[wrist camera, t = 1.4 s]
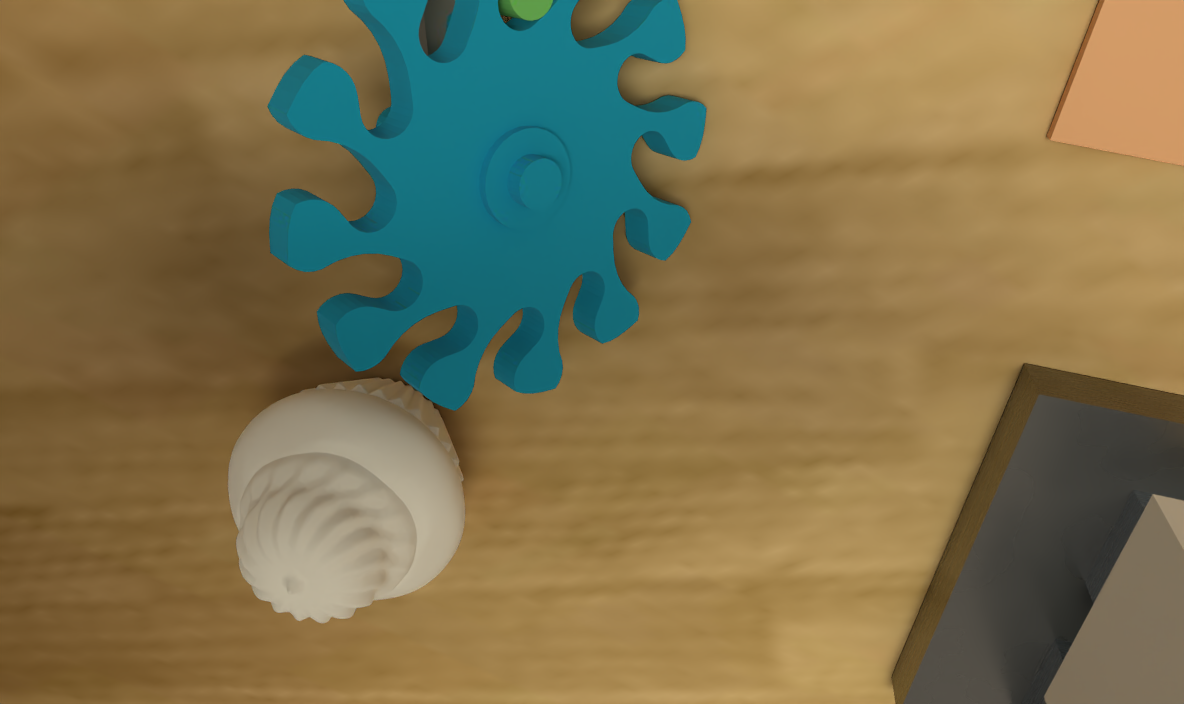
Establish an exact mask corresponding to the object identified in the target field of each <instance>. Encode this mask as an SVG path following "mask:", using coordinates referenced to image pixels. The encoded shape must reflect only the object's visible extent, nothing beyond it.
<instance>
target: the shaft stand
mask: <svg viewBox="0 0 1184 704" xmlns="http://www.w3.org/2000/svg"><path fill="white" fill-rule="evenodd" d="M1152 494H1155V495H1160V496H1164V497H1169V498H1173V499H1178V500H1183V501H1184V396H1181V395H1176V394H1171V393H1167V392H1162V391H1157V390H1152V389H1147V388H1142V387H1137V386H1132V385H1127V384H1123V383H1118V382H1113V381H1108V380H1103V379H1098V378H1093V377H1088V376H1083V375H1079V374H1074V373H1069V372H1064V371H1059V370H1054V369H1049V368H1044V367H1039V366H1035V365H1030V364H1024V366H1023V368H1022V371H1021V373H1020V375H1019V378H1018V380H1017V382H1016V385H1015V387H1014V390H1013V392H1012V394H1011V397H1010V399H1009V401H1008V404H1007V406H1006V408H1005V411H1004V413H1003V416H1002V418H1001V420H1000V423H999V425H998V427H997V430H996V432H995V434H994V437H993V439H992V441H991V444H990V446H989V449H988V451H987V453H986V456H985V458H984V460H983V463H982V465H981V467H980V470H979V472H978V474H977V477H976V479H975V482H974V484H973V486H972V489H971V491H970V493H969V496H968V498H967V500H966V503H965V505H964V507H963V510H962V512H961V515H960V517H959V519H958V522H957V524H956V526H955V529H954V531H953V533H952V536H951V538H950V541H949V543H948V545H947V548H946V550H945V552H944V555H943V557H942V559H941V562H940V564H939V566H938V569H937V571H936V574H935V576H934V578H933V581H932V583H931V585H930V588H929V590H928V592H927V595H926V597H925V599H924V602H923V604H922V607H921V609H920V611H919V614H918V616H917V618H916V621H915V623H914V625H913V628H912V630H911V632H910V635H909V637H908V640H907V642H906V644H905V647H904V649H903V651H902V654H901V656H900V658H899V661H898V663H897V665H896V668H895V670H894V673H893V675H892V683H893V689H894V696H895V703H896V704H1046V702H1045V698H1044V695H1045V694H1046V692H1047V690H1048V688H1049V686H1050V684H1051V682H1052V681H1053V679H1054V677H1055V675H1056V673H1057V671H1058V669H1059V668H1060V666H1061V664H1062V662H1063V660H1064V658H1065V656H1066V654H1067V653H1068V651H1069V649H1070V647H1071V645H1072V643H1073V641H1074V640H1075V638H1076V636H1077V634H1078V632H1079V630H1080V628H1081V627H1082V625H1083V623H1084V621H1085V619H1086V617H1087V615H1088V614H1089V612H1090V610H1091V608H1092V606H1093V604H1094V602H1095V600H1096V599H1097V597H1098V595H1099V593H1100V591H1101V589H1102V587H1103V586H1104V584H1105V582H1106V580H1107V578H1108V576H1109V574H1110V573H1111V571H1112V569H1113V567H1114V565H1115V563H1116V561H1117V560H1118V558H1119V556H1120V554H1121V552H1122V550H1123V548H1124V546H1125V545H1126V543H1127V541H1128V539H1129V537H1130V535H1131V533H1132V532H1133V530H1134V528H1135V526H1136V524H1137V522H1138V520H1139V519H1140V517H1141V515H1142V513H1143V511H1144V509H1145V507H1146V506H1147V504H1148V502H1149V500H1150V498H1151V496H1152Z"/></svg>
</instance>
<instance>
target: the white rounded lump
mask: <svg viewBox="0 0 1184 704" xmlns="http://www.w3.org/2000/svg"><path fill="white" fill-rule="evenodd" d="M462 481H463V475H462V472H461V470H460V467H459V459H458V456H457V454H456V451H455V449H454V446H453V443H452V441H451V439H450V436H449V434H448V431H447V429H446V426H445V424H444V421H443V419H442V418H441V416H440V413H439V411H438V410H437V409H435V408H434V406H433V403H432V401H429V400H426V399H425V398H424V397H423V394H422V393H420V392H419V391H415V390H414V389H413V387H412V386H411V385H407V386H405V385H404V384H403V383H402V381H398V382H394V381H393V380H392V379H390V378H388V379H381V378H378V377H377V378H370V379H360V380H353V381H344V382H336V383H328V384H320V385H318V386H317V388H312V389H306V390H301V391H300V393H297V394H293V395H290V396H288V397H285V398H283V399H281V400H279V401H277V402H275V403H273V404H272V405H270V406H269V407H267V408H266V409H264V410H263V411H262V412H260V413H259V414H258V415H257V416H256V417H255V418H254V419H253V420H252V421H251V422H250V423H249V424H248V425H247V426H246V428H245V429H244V431H243V432H242V433H241V435H240V436H239V438H238V440H237V442H236V444H235V446H234V449H233V451H232V455H231V458H230V463H229V470H228V493H229V501H230V506H231V510H232V515H233V518H234V521H235V523H236V526H237V528H238V530H239V533H238V536H237V538H236V548H237V553H238V556H239V567H240V570H241V574H242V576H243V578H244V579H245V580H246V581H247V582H248V583H249V584H250V585H252V589H253V592H254V594H255V595H256V597H257V598H259V599H260V600H264V601H269V602H271V604H272V607H273V609H274V611H276V612H277V613H283V612H290V613H291V614H292V615H293V616H294V618H295V619H296V620H298V621H301V620H303V619H306V618H308V617H311V618H312V619H314V620H315V621H317V622H319V623H326V622H328V621H329V620H330V618H331V617H334V618H338V619H346V618H350V617H352V616H353V614H354V613H355V610H356V608H361V607H366V606H369V605H371V603H372V602H373V600H381V599H389V598H394V597H399V596H402V595H406V594H408V593H411V592H414V591H416V590H418V589H420V588H421V587H423V586H425V585H426V584H427V583H429V582H430V581H431V580H433V579H434V578H435V577H436V576H437V575H438V574H439V573H440V572H441V571H442V570H443V569H444V568H445V567H446V565H447V564H448V563H449V561H450V560H451V559H452V557H453V555H454V554H455V552H456V550H457V548H458V546H459V543H460V541H461V538H462V534H463V530H464V524H465V499H464V492H463V487H462V483H461V482H462Z"/></svg>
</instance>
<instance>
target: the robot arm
mask: <svg viewBox="0 0 1184 704" xmlns="http://www.w3.org/2000/svg"><path fill="white" fill-rule="evenodd" d="M1044 698H1045V702H1046V704H1184V501H1183V500H1178V499H1173V498H1169V497H1164V496H1160V495H1155V494H1152V496H1151V498H1150V500H1149V502H1148V504H1147V506H1146V507H1145V509H1144V511H1143V513H1142V515H1141V517H1140V519H1139V520H1138V522H1137V524H1136V526H1135V528H1134V530H1133V532H1132V533H1131V535H1130V537H1129V539H1128V541H1127V543H1126V545H1125V546H1124V548H1123V550H1122V552H1121V554H1120V556H1119V558H1118V560H1117V561H1116V563H1115V565H1114V567H1113V569H1112V571H1111V573H1110V574H1109V576H1108V578H1107V580H1106V582H1105V584H1104V586H1103V587H1102V589H1101V591H1100V593H1099V595H1098V597H1097V599H1096V600H1095V602H1094V604H1093V606H1092V608H1091V610H1090V612H1089V614H1088V615H1087V617H1086V619H1085V621H1084V623H1083V625H1082V627H1081V628H1080V630H1079V632H1078V634H1077V636H1076V638H1075V640H1074V641H1073V643H1072V645H1071V647H1070V649H1069V651H1068V653H1067V654H1066V656H1065V658H1064V660H1063V662H1062V664H1061V666H1060V668H1059V669H1058V671H1057V673H1056V675H1055V677H1054V679H1053V681H1052V682H1051V684H1050V686H1049V688H1048V690H1047V692H1046V694H1045V695H1044Z"/></svg>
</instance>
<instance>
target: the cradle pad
mask: <svg viewBox="0 0 1184 704" xmlns="http://www.w3.org/2000/svg"><path fill="white" fill-rule="evenodd" d="M1047 137H1048V138H1049V139H1050V140H1052V141H1057V142H1062V143H1067V144H1073V145H1078V146H1083V147H1088V148H1093V149H1099V150H1104V151H1109V152H1114V153H1119V154H1125V155H1130V156H1135V157H1140V158H1145V159H1151V160H1156V161H1161V162H1166V163H1172V164H1177V165H1182V166H1184V0H1099V3H1098V5H1097V8H1096V10H1095V13H1094V15H1093V18H1092V21H1091V23H1090V26H1089V28H1088V31H1087V34H1086V36H1085V39H1084V41H1083V44H1082V46H1081V49H1080V52H1079V54H1078V57H1077V59H1076V62H1075V65H1074V67H1073V70H1072V72H1071V75H1070V78H1069V80H1068V83H1067V85H1066V88H1065V90H1064V93H1063V96H1062V98H1061V101H1060V103H1059V106H1058V109H1057V111H1056V114H1055V116H1054V119H1053V121H1052V124H1051V127H1050V129H1049V132H1048V134H1047Z"/></svg>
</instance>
